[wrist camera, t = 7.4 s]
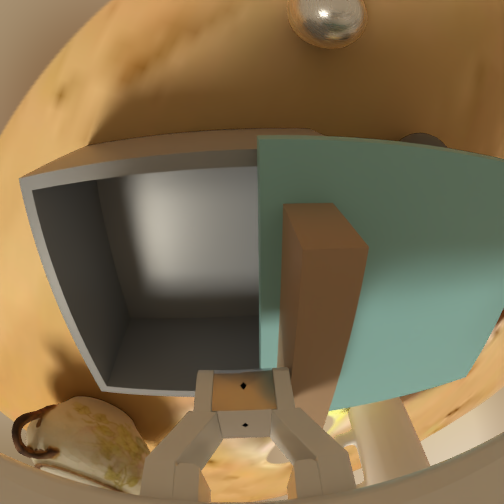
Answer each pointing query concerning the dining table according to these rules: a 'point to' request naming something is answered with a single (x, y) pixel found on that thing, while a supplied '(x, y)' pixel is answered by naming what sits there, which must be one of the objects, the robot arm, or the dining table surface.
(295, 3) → the steel ball
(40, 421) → the sugar bowl
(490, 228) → the lid
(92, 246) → the bin
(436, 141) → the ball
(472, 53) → the dining table surface
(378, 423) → the mug
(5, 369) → the dining table surface
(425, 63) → the dining table surface
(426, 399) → the dining table surface
